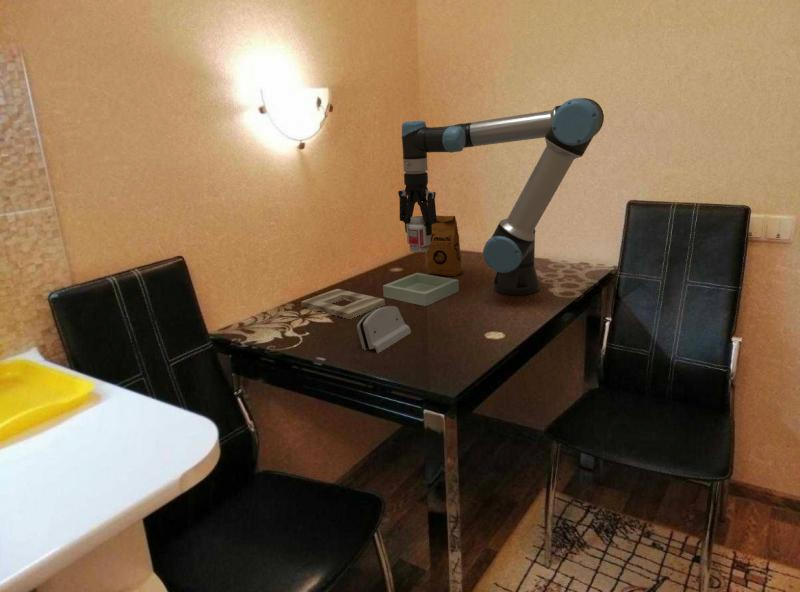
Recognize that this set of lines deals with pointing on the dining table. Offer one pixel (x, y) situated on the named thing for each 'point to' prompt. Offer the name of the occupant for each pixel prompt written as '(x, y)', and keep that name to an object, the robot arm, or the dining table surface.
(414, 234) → the pill bottle
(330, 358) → the dining table surface
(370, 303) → the socket block
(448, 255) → the coffee package
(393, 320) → the napkin holder
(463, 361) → the dining table surface
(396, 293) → the tray
